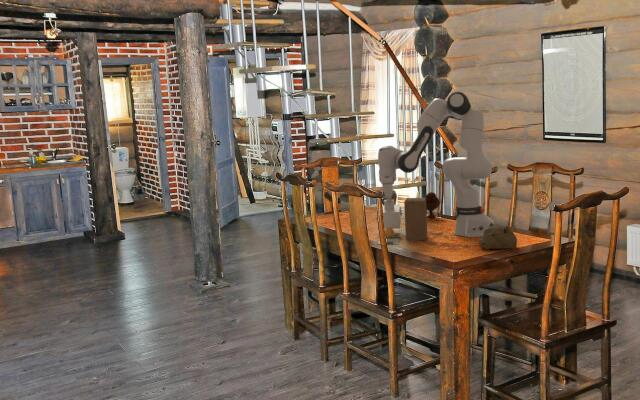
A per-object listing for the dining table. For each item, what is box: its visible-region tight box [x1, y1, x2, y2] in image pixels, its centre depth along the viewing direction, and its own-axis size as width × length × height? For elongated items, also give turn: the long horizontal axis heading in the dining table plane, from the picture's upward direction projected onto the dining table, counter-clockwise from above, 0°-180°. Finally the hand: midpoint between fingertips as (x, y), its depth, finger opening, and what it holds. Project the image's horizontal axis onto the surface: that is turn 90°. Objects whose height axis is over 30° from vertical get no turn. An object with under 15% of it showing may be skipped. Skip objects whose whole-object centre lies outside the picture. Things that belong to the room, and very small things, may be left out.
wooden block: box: [403, 197, 428, 241], centre depth 349 cm, size 10×10×20 cm
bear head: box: [478, 223, 518, 252], centre depth 321 cm, size 14×18×12 cm
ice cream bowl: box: [422, 191, 441, 219], centre depth 400 cm, size 11×11×15 cm
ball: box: [384, 228, 395, 239], centre depth 355 cm, size 5×5×5 cm
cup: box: [383, 199, 402, 230], centre depth 363 cm, size 15×10×13 cm
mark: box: [386, 237, 399, 245], centre depth 348 cm, size 10×12×1 cm
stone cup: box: [382, 189, 402, 214], centre depth 417 cm, size 15×12×15 cm
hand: (389, 203), depth 362 cm, fingers closed on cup, 3 cm apart
